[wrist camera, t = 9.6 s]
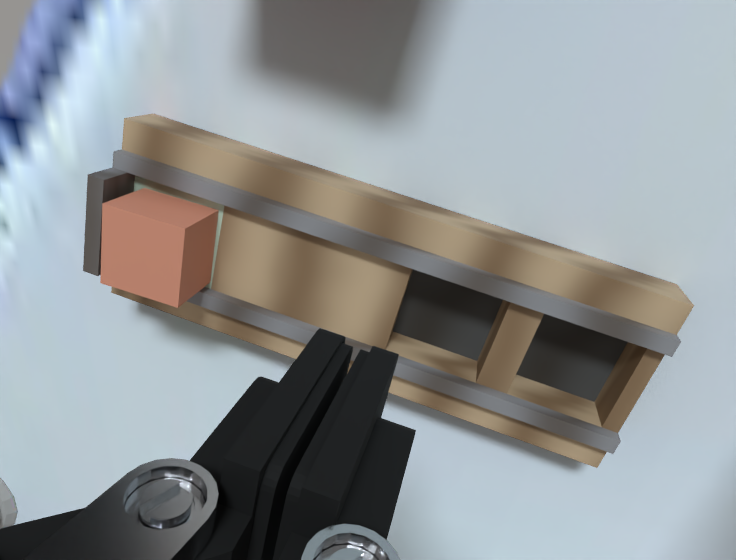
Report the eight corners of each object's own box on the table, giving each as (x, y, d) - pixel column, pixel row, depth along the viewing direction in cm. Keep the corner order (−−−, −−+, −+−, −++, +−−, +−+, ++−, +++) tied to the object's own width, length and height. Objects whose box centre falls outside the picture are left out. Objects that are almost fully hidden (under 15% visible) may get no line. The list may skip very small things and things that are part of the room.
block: (218, 210, 33) (185, 228, 30) (210, 282, 35) (177, 307, 32) (144, 187, 34) (102, 203, 30) (140, 260, 36) (100, 282, 32)
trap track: (677, 284, 32) (714, 330, 27) (589, 437, 37) (605, 503, 32) (152, 113, 35) (90, 123, 30) (137, 276, 40) (81, 310, 35)
